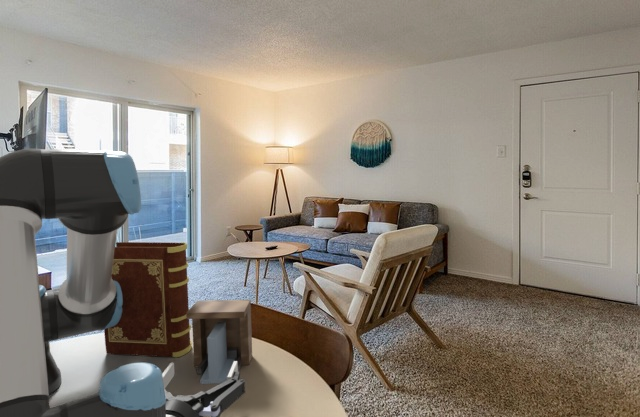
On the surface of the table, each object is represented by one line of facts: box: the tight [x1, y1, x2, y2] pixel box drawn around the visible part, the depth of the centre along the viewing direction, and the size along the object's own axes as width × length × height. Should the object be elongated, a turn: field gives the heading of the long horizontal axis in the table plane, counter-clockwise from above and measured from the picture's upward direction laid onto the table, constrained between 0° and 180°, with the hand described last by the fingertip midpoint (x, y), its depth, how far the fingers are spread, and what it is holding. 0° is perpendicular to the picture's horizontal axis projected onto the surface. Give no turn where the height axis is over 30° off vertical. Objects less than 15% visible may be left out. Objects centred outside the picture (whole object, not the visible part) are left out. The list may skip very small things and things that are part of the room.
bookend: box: [200, 322, 235, 385], centre depth 93 cm, size 6×10×11 cm, turn 1°
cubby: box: [186, 299, 253, 375], centre depth 97 cm, size 14×9×16 cm, turn 91°
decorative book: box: [103, 241, 193, 358], centre depth 105 cm, size 22×8×30 cm, turn 83°
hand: (204, 367), depth 82 cm, fingers open, 13 cm apart
